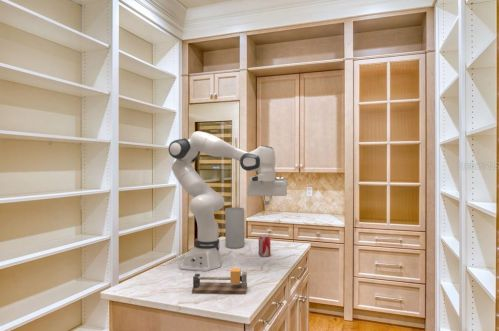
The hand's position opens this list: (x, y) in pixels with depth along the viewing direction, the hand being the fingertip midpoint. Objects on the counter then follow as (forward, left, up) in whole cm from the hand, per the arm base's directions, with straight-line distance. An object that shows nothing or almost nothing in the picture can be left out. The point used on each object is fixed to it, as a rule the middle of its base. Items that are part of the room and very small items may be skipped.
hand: (267, 204), depth 167 cm
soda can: (-2, +28, -34) cm, 44 cm away
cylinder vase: (-22, +49, -34) cm, 64 cm away
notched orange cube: (-14, -25, -30) cm, 41 cm away
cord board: (-20, -25, -34) cm, 47 cm away
